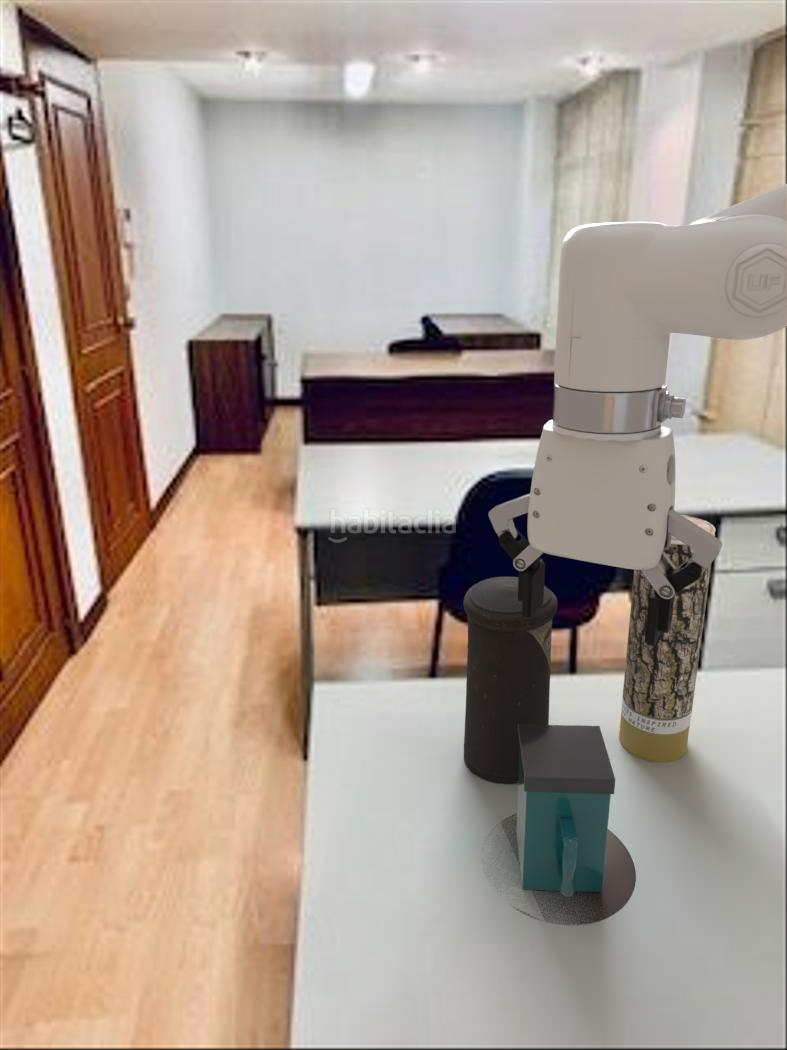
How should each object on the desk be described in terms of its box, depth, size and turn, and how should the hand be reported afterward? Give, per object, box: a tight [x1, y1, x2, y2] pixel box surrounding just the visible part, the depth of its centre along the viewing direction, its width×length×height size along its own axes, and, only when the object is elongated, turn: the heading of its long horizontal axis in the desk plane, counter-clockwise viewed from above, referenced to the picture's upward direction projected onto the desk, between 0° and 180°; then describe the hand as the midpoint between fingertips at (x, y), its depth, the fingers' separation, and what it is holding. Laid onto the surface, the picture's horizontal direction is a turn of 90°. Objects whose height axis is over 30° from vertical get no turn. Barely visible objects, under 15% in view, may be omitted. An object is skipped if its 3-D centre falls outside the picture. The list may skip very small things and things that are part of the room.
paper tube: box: [618, 514, 716, 763], centre depth 76 cm, size 7×7×25 cm
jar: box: [515, 724, 616, 898], centre depth 62 cm, size 9×7×11 cm
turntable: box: [481, 813, 637, 926], centre depth 65 cm, size 13×13×1 cm
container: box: [462, 576, 559, 785], centre depth 75 cm, size 9×9×20 cm
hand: (590, 623), depth 60 cm, fingers open, 9 cm apart
